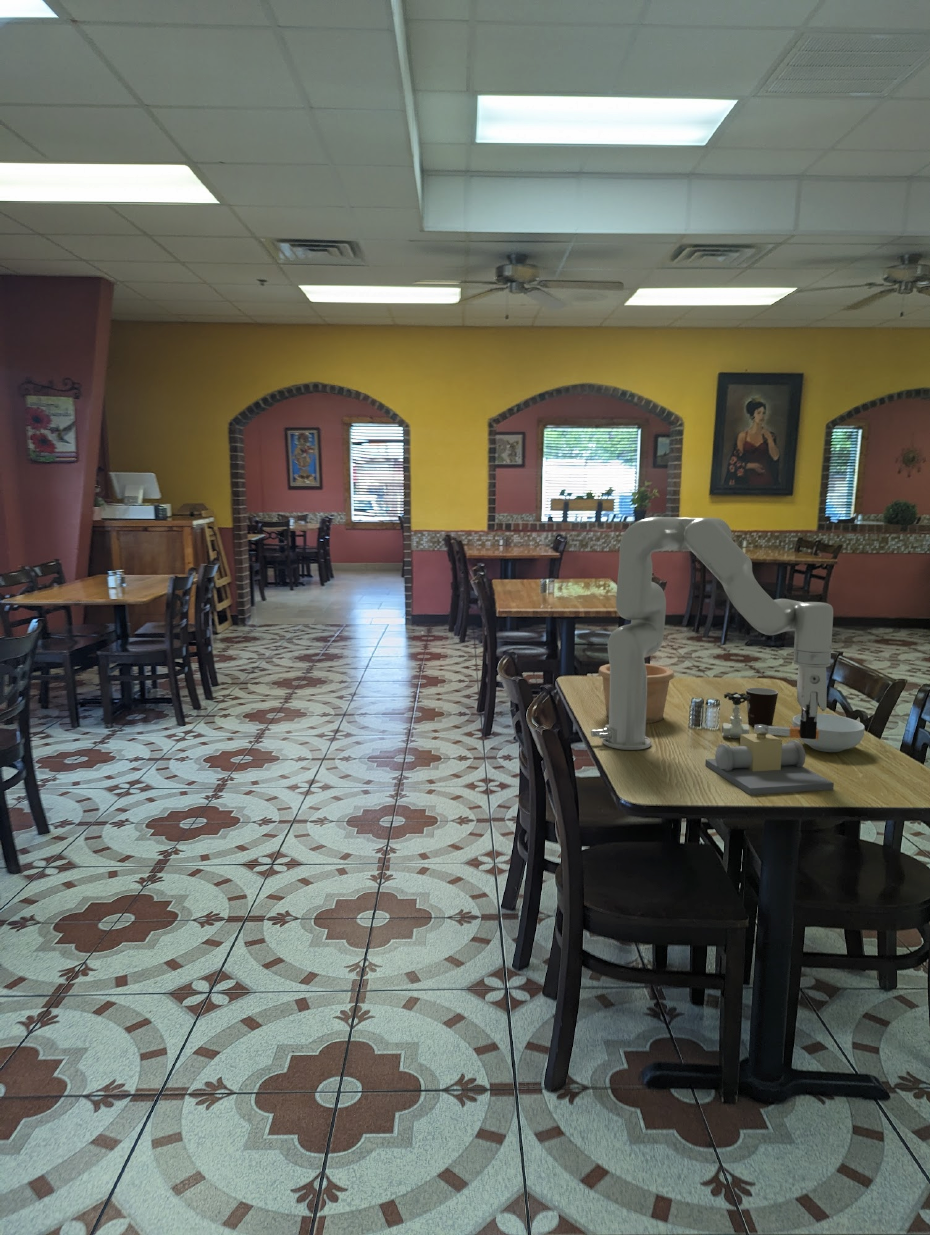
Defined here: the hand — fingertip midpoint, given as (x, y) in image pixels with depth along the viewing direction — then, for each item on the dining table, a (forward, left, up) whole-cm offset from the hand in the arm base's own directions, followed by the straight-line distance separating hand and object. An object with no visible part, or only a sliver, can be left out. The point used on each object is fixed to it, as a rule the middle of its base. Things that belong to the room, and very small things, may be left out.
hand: (807, 737), depth 173 cm
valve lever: (-3, +4, -1) cm, 5 cm away
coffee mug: (+17, +46, -10) cm, 50 cm away
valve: (+2, +34, -10) cm, 35 cm away
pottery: (-16, +60, -10) cm, 63 cm away
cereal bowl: (+21, +22, -10) cm, 32 cm away
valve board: (-7, +4, -10) cm, 13 cm away
